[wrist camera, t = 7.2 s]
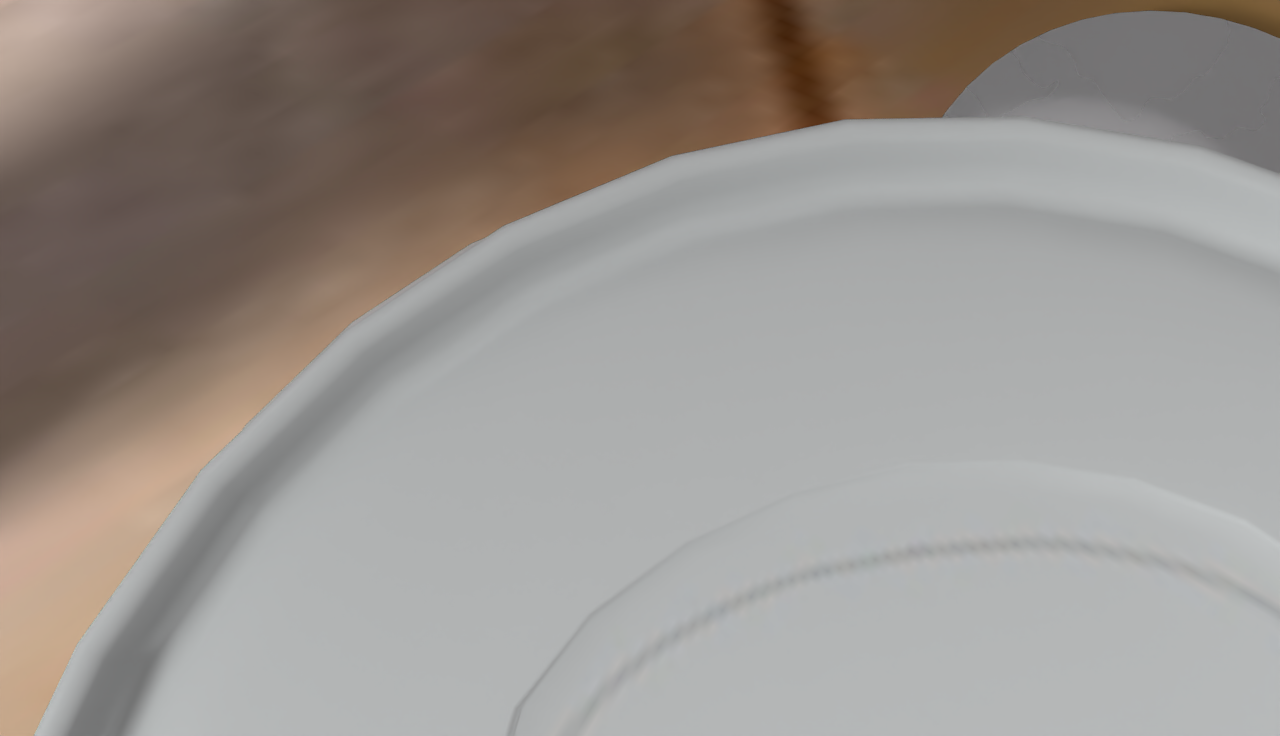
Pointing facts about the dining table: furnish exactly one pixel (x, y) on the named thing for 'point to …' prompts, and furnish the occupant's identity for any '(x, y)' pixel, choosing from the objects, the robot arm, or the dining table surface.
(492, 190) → the dining table surface
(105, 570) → the dining table surface
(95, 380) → the dining table surface
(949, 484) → the energy drink can
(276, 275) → the dining table surface
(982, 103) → the stand
